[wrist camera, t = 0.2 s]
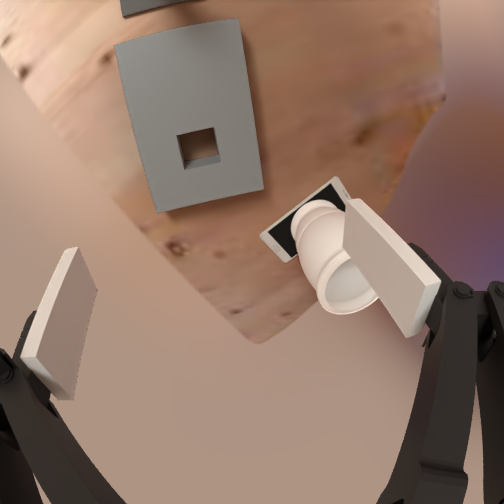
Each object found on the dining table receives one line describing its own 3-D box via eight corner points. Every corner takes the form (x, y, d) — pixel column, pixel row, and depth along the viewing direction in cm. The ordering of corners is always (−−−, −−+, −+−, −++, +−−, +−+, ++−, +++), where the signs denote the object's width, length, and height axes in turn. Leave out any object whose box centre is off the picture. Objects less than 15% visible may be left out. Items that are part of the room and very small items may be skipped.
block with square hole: (120, 47, 29) (114, 45, 26) (234, 21, 30) (238, 17, 27) (159, 202, 41) (157, 213, 39) (258, 179, 42) (264, 189, 40)
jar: (347, 240, 51) (391, 298, 39) (290, 259, 51) (322, 325, 39) (341, 184, 45) (395, 235, 33) (277, 203, 45) (313, 263, 33)
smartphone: (258, 236, 47) (337, 175, 44) (257, 234, 48) (335, 174, 45) (285, 264, 51) (358, 209, 48) (284, 262, 52) (356, 207, 49)
